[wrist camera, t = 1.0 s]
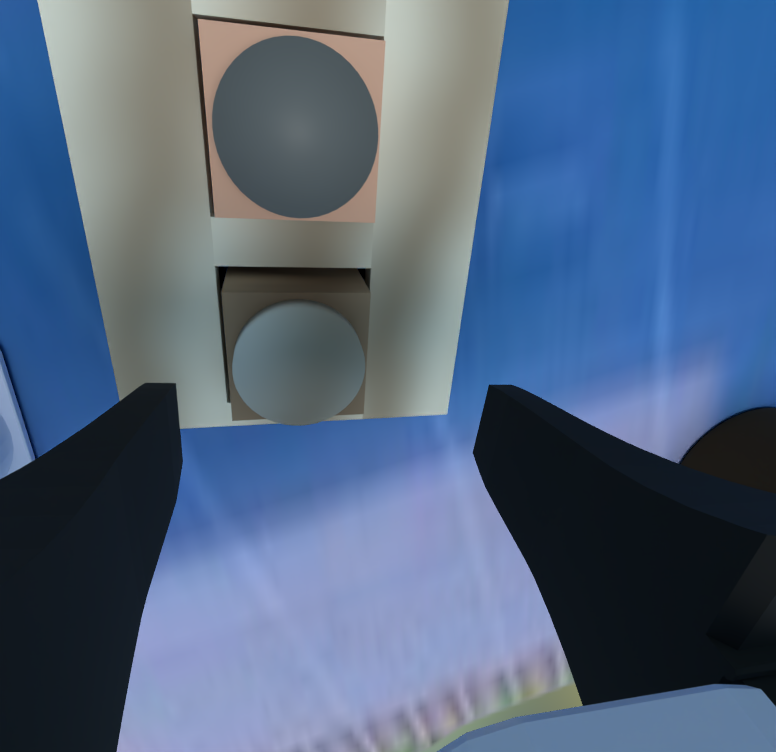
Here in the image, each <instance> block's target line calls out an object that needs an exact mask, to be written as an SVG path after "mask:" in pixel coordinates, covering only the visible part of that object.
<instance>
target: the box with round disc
mask: <svg viewBox="0 0 776 752" xmlns="http://www.w3.org/2000/svg"><path fill="white" fill-rule="evenodd" d="M221 295H222V307H223V319H224V330H225V342H226V353H227V365H228V377H229V388H230V400H231V412H232V421H240V420H259V419H268V420H270V421H273V422H276V423H280V424H285V425H309V424H314V423H318V422H321V421H324V420H326V419H329V418H331V417H333V416H337V415H356V414H364V401H365V384H366V367H367V350H368V333H369V316H370V299H371V292H370V291H369V289H368V287H367V285H366V283H365V282H364V280H363V278H362V276H361V275H360V273H359V271H358V269H357V268H315V267H243V266H228V268H227V272H226V276H225V280H224V284H223V288H222V292H221Z"/></svg>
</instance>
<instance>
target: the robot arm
mask: <svg viewBox="0 0 776 752" xmlns="http://www.w3.org/2000/svg"><path fill="white" fill-rule="evenodd" d="M473 455H474V458H475V460H476V463H477V466H478V469H479V472H480V475H481V477H482V480H483V482H484V485H485V487H486V489H487V491H488V493H489V495H490V497H491V499H492V500H493V502H494V504H495V506H496V508H497V510H498V512H499V513H500V515H501V517H502V519H503V521H504V522H505V524H506V526H507V528H508V530H509V531H510V533H511V535H512V537H513V539H514V540H515V542H516V544H517V546H518V548H519V550H520V551H521V553H522V555H523V557H524V559H525V560H526V562H527V564H528V566H529V568H530V570H531V572H532V574H533V576H534V578H535V581H536V583H537V585H538V588H539V590H540V593H541V595H542V597H543V600H544V602H545V605H546V607H547V609H548V612H549V614H550V616H551V619H552V622H553V624H554V627H555V629H556V632H557V635H558V637H559V640H560V643H561V645H562V648H563V650H564V653H565V656H566V658H567V661H568V664H569V667H570V670H571V672H572V675H573V678H574V681H575V684H576V687H577V690H578V693H579V696H580V698H581V701H582V704H583V706H580V707H574V708H569V709H563V710H556V711H550V712H545V713H539V714H532V715H527V716H520V717H515V718H512V719H509V720H506V721H502V722H499V723H496V724H493V725H490V726H486V727H483V728H480V729H477V730H474V731H471V732H467V733H465V734H464V735H462V736H461V737H459V738H458V739H456V740H454V741H453V742H451V743H450V744H448V745H446V746H445V747H443V748H442V749H440V750H439V751H437V752H776V494H775V493H771V492H767V491H763V490H759V489H755V488H752V487H748V486H745V485H741V484H738V483H734V482H731V481H728V480H724V479H721V478H718V477H715V476H712V475H709V474H706V473H703V472H700V471H697V470H694V469H691V468H688V467H686V466H683V465H680V464H677V463H675V462H672V461H670V460H667V459H665V458H662V457H660V456H657V455H655V454H652V453H650V452H647V451H645V450H643V449H640V448H638V447H636V446H633V445H631V444H629V443H627V442H625V441H623V440H621V439H619V438H616V437H614V436H612V435H610V434H608V433H606V432H604V431H602V430H600V429H598V428H596V427H594V426H592V425H590V424H588V423H586V422H584V421H583V420H581V419H579V418H577V417H575V416H573V415H571V414H569V413H568V412H566V411H564V410H562V409H560V408H558V407H557V406H555V405H553V404H551V403H549V402H547V401H545V400H543V399H542V398H540V397H538V396H536V395H534V394H532V393H530V392H528V391H526V390H523V389H521V388H519V387H516V386H514V385H489V387H488V391H487V396H486V400H485V404H484V408H483V412H482V416H481V421H480V425H479V429H478V433H477V437H476V441H475V446H474V450H473ZM182 462H183V458H182V447H181V435H180V424H179V412H178V401H177V389H176V383H144V384H142V385H141V386H139V387H138V388H137V389H135V390H134V391H133V392H131V393H130V394H129V395H127V396H126V397H125V398H123V399H122V400H121V401H119V402H118V403H117V404H116V405H114V406H113V407H112V408H110V409H109V410H108V411H106V412H105V413H104V414H102V415H101V416H99V417H98V418H97V419H95V420H94V421H93V422H91V423H90V424H89V425H87V426H86V427H84V428H83V429H81V430H80V431H78V432H77V433H75V434H74V435H72V436H71V437H69V438H68V439H66V440H65V441H63V442H62V443H60V444H59V445H57V446H56V447H54V448H53V449H51V450H50V451H48V452H47V453H45V454H44V455H42V456H40V457H39V458H37V459H35V456H34V453H33V450H32V447H31V443H30V440H29V437H28V434H27V431H26V428H25V424H24V421H23V418H22V415H21V412H20V409H19V405H18V402H17V399H16V396H15V393H14V390H13V387H12V383H11V380H10V377H9V374H8V371H7V368H6V364H5V361H4V358H3V355H2V352H1V350H0V752H116V751H117V745H118V739H119V733H120V728H121V722H122V716H123V711H124V705H125V700H126V694H127V689H128V683H129V678H130V673H131V667H132V662H133V657H134V652H135V647H136V642H137V637H138V632H139V627H140V622H141V617H142V613H143V609H144V605H145V601H146V597H147V594H148V590H149V587H150V584H151V581H152V578H153V575H154V571H155V568H156V565H157V562H158V559H159V555H160V552H161V549H162V546H163V543H164V539H165V536H166V533H167V530H168V526H169V523H170V520H171V517H172V513H173V510H174V507H175V503H176V499H177V494H178V488H179V482H180V475H181V469H182Z"/></svg>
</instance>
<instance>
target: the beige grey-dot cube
mask: <svg viewBox="0 0 776 752" xmlns="http://www.w3.org/2000/svg"><path fill="white" fill-rule="evenodd" d="M198 28H199V40H200V51H201V63H202V75H203V86H204V98H205V109H206V121H207V133H208V144H209V156H210V167H211V179H212V191H213V202H214V214H215V218H244V219H273V220H302V221H331V222H360V223H375V213H376V196H377V179H378V162H379V144H380V127H381V110H382V93H383V76H384V59H385V42H386V41H383V40H375V39H366V38H357V37H349V36H340V35H332V34H323V33H315V32H306V31H298V30H289V29H281V28H272V27H264V26H255V25H247V24H238V23H230V22H221V21H213V20H204V19H198Z"/></svg>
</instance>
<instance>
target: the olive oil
mask: <svg viewBox="0 0 776 752" xmlns="http://www.w3.org/2000/svg"><path fill="white" fill-rule="evenodd" d="M680 465H683V466H686V467H688V468H691V469H694V470H697V471H700V472H703V473H706V474H709V475H712V476H715V477H718V478H721V479H724V480H728V481H731V482H734V483H738V484H741V485H745V486H748V487H752V488H755V489H759V490H763V491H767V492H771V493H775V494H776V408H761V409H756V410H751V411H748V412H745V413H742V414H739V415H737V416H735V417H733V418H731V419H729V420H727V421H725V422H723V423H722V424H720V425H719V426H717V427H716V428H714V429H713V430H712V431H710V432H709V433H708V434H707V435H705V436H704V437H703V438H702V439H701V440H700V441H699V442H698V443H697V444H696V445H695V446H694V447H693V448H692V449H691V450H690V452H689V453H688V454H687V455H686V457H685V458H684V460H683V461H682V463H681V464H680Z"/></svg>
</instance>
